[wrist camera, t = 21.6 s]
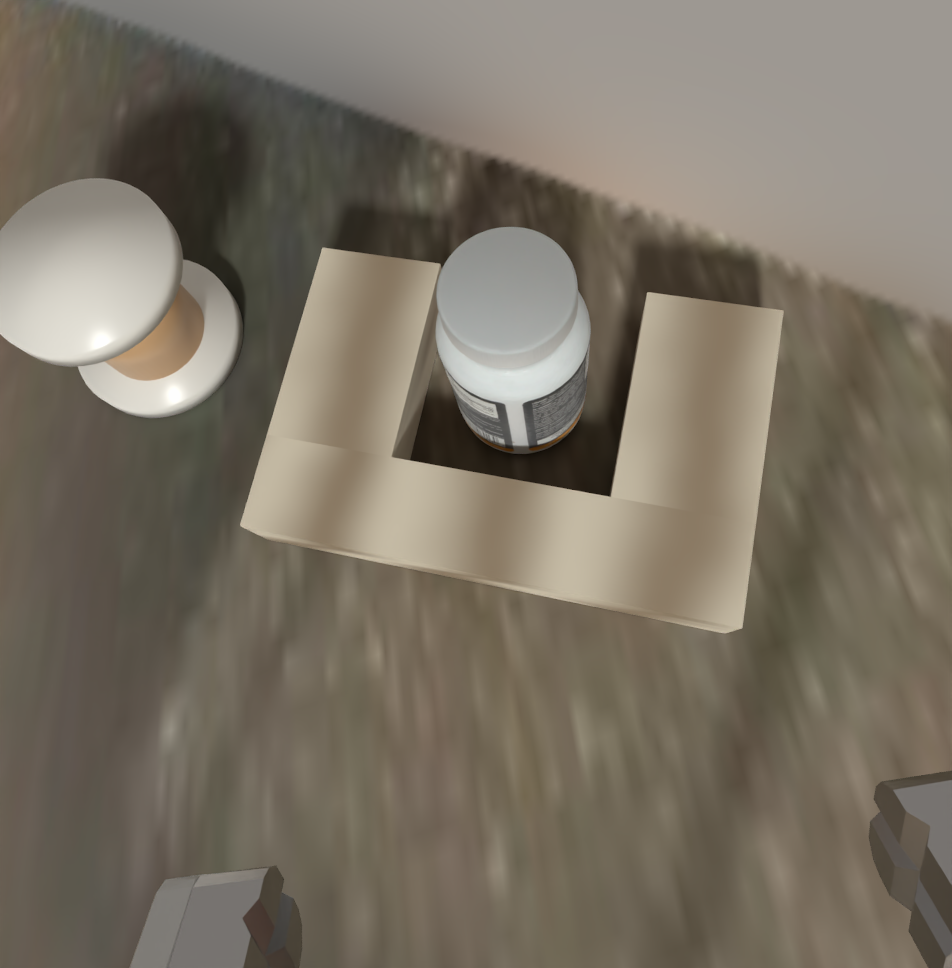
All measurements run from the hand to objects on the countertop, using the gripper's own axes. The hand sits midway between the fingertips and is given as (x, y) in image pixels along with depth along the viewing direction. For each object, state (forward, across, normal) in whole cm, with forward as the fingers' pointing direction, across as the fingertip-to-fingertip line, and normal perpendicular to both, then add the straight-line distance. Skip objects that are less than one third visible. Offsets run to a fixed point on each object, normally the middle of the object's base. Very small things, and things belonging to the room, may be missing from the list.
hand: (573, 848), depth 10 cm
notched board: (+23, 0, +6) cm, 24 cm away
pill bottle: (+25, -1, +4) cm, 25 cm away
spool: (+29, +16, 0) cm, 33 cm away
